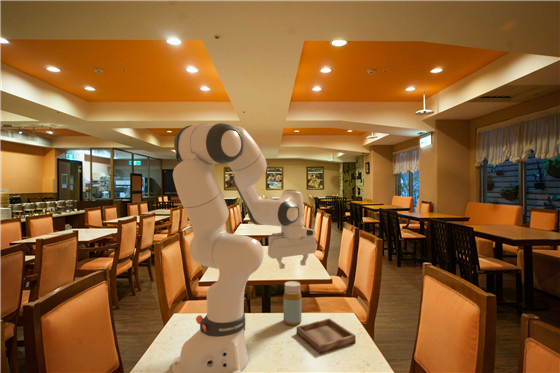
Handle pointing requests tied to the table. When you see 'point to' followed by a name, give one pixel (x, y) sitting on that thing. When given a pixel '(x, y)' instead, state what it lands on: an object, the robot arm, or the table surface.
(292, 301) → the bottle
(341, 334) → the serving tray
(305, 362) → the table surface
